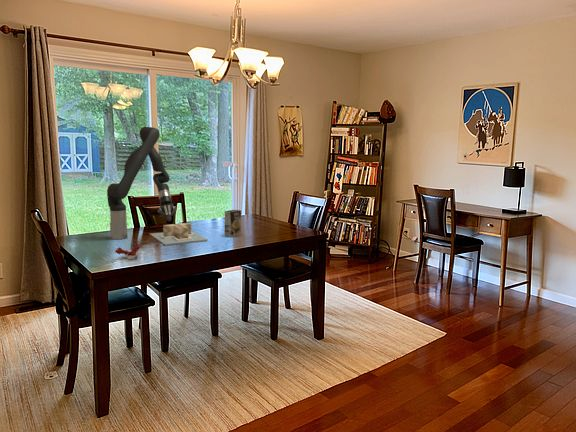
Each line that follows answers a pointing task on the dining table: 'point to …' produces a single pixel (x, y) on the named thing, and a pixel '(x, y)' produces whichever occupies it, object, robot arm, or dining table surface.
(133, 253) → the figurine
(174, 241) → the board
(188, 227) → the t block
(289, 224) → the dining table surface
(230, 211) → the coffee box
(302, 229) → the dining table surface
